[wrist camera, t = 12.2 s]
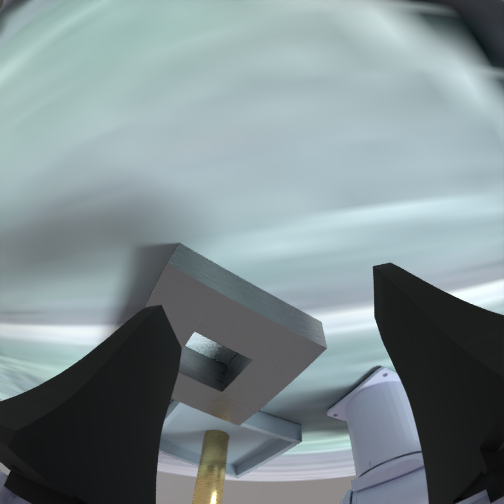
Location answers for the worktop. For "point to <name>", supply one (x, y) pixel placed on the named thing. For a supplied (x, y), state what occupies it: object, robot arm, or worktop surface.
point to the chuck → (232, 337)
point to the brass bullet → (211, 468)
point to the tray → (240, 437)
